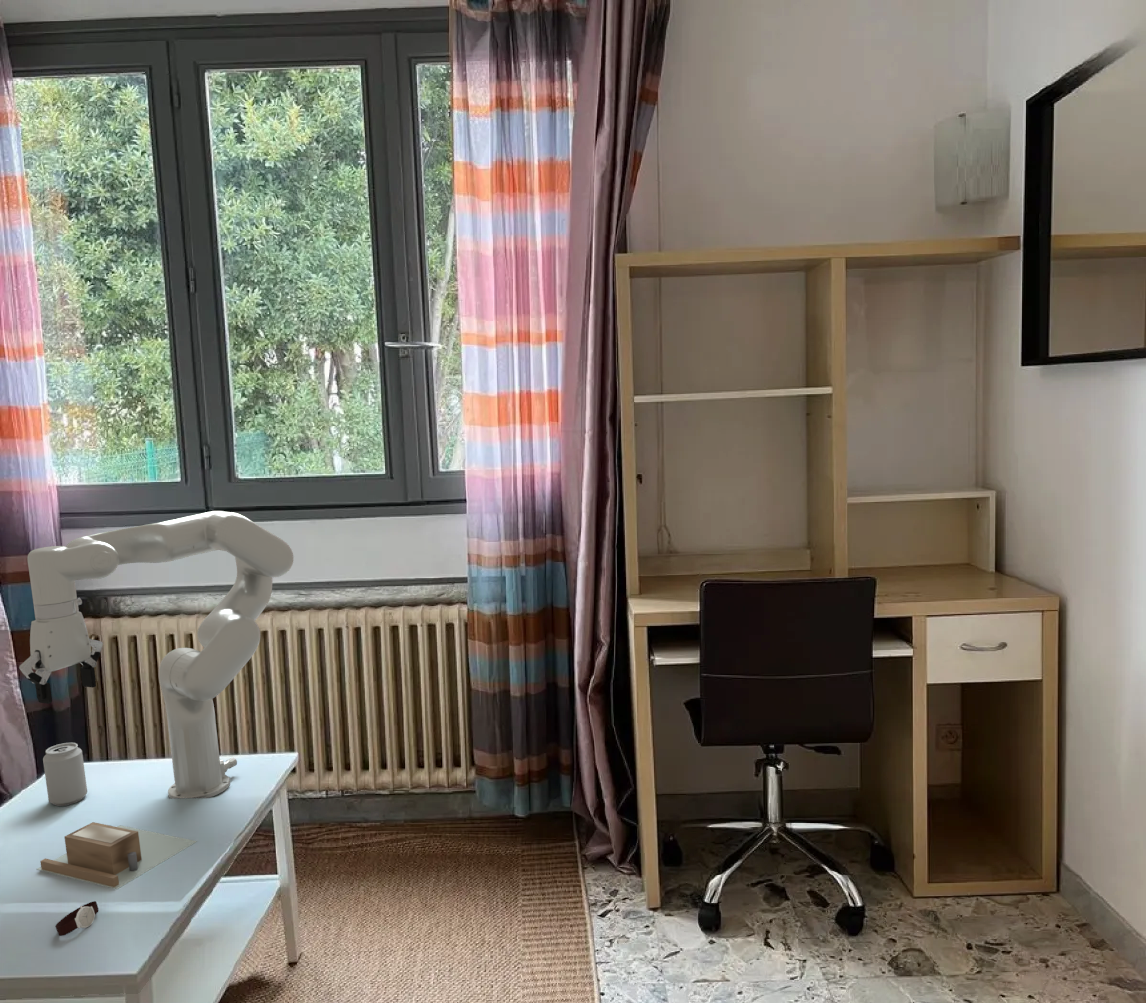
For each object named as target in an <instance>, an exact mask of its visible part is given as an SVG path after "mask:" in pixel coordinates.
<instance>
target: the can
mask: <svg viewBox="0 0 1146 1003" xmlns="http://www.w3.org/2000/svg"><path fill="white" fill-rule="evenodd" d="M78 746H79V745H78V743H76V742H64V743H59V744H56V745H53V746H50V747H48V748H47V749H45V755H44V756H43V758H42V761H43V770H44V776H45V777H44V778H45V784H46V791H47V799H48V802H49V803H50V804H53V805H54V806H58V807H62V806H69V805H73V804H75V803H79V802H80V801H82V800H83V799H84V798H85V796H87V794H88V786H87V780H86V778H87V777H86V771H85V763H84V755H83V750H82V749H81V748H80V747H78Z"/></svg>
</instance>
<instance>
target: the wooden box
mask: <svg viewBox="0 0 1146 1003" xmlns="http://www.w3.org/2000/svg"><path fill="white" fill-rule="evenodd" d="M64 842H65V843H64V844H65V851H66V853H67V859H68V864H71V865H75V866H79V867H84V868H88V869H92V870H96V871H100V872H104V873H109V874H113V875H116V874H118V873H120V872H121V871H123V870H125V869H126V868H128V867H129V862H128V854H129V853H131V852H136V856H137V862H139V861H140V860H142V858H141V850H140V842H139V834H138V831H134V830H129V829H124V828H119V827H117V826H113V825H109V824H104V823H100V822H96V821H95V822H94V821H93V822H90V823H89V824H87V825H85V826H83V827H80V828H79V829H77V830H74V831H73V832H71V833H69V834H66V835H65V836H64Z"/></svg>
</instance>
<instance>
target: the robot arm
mask: <svg viewBox="0 0 1146 1003" xmlns="http://www.w3.org/2000/svg"><path fill="white" fill-rule="evenodd" d="M215 551H222V552H227V553H228V554H230V555H232V556H233V557H234V560H235V563H236V579H235V581H234V584H233V586H232V587H231V588H230V590H229V591H228V592H227V594H226V595H225V596H224V597H223V598H222V599H221V601H220V602H219V603H218V604H217V605H216V606H215V607H214V608H213V609H212V611H211V612H210V613H209V614H208V615H207V616H206V617H205V618H204V619H203V620H202V622H201V623H200V625H199V627H198V629H197V640H198V642H199V644H200V645H201V646H202V647H203V649H201V650H198V649H194V648H189V647H178V648H175V649H173V650H170V651H169V652H167V653H166V654H165V656H163V658H162V659H161V661H160V663H159V668H158V682H159V686H160V687H159V688H160V690H161V693H162V697H163V702H164V705H165V712H166V719H167V727H168V728H167V729H168V737H169V746H170V753H171V761H172V763H171V764H172V770H173V778H174V783H173V784H172V785H171V786H170V787H169V788H168V790H167V794H168V798H169V799H171V800H172V799H173V800H175V799H177V800H178V799H180V800H181V799H185V800H186V799H209V798H212V797H214V796H218V795H219V794H222V793H223V792H224V791H226V790H227V789H228V788H229V787H230V785H231V779H230V776H228V775H226V773H227V771H228V770H230V769H232V768H234V767H236V766H237V764H238V761H237V759H236V757H231V758H229V759H227V760H226V761H224V760H223V759H220V750H219V741H218V732H217V724H216V723H217V722H216V713H215V707H214V706H215V705H214V701H213V699H214V698H216V696H217V697H218V696H219V694H221V693H222V692H223V691H224V690H225V689H226V688H228V685H230V683H231V682H232V681H233V680H234V679H235V677H236V676H237V675H238V674H239V673H240V672H241V671H242V670H243V668H244V667H245V665H247V663H248V662H249V660H251V659H252V657H253V656H254V654H255V652H256V651H257V649H258V647H259V645H260V642H261V630H260V627H259V625H258V624H257V622H256V621H257V619H258V618H259V617H260V615H261V614H262V613H263V611H264V610H265V608H266V607H267V605H268V603H269V602H270V600H271V596H272V591H273V578H279V577H282V576H284V575H286V574H287V573H288V572H289V571H290V569H291V568H292V566H293V563H294V552H293V549H292V548H291V546H290V545H289V544H288V543H287V542H286V541H285V540H283V539H282V538H280V537H278V536H277V535H275V534H274V533H272V532H270V531H268V530H267V529H266V528H264V527H262V526H260V525H259V524H257V523H256V522H254V521H252V520H251V519H249V518H248V517H247V516H244V515H242V514H240V513H237V512H232V511H231V512H230V511H224V510H212V511H207V512H202V513H197V514H193V515H187V516H184V517H179V518H176V519H170V520H165V521H160V522H155V523H149V524H148V523H147V524H144V525H142V524H141V525H138V526H131V527H126V528H120V529H114V530H109V531H103V532H99V533H95V534H90V535H85V536H82V537H77V538H75V539H73V540H71V541H70V542H69V543H68V544H67V545H64V546H63V545H54V546H51V545H50V546H44V547H38V548H35V549H33V550H31V551H30V552H29V553H28V554H27V566H28V572H29V574H28V575H29V580H30V589H31V595H32V596H31V597H32V603H33V609H34V618H35V620H32V621H31V623H30V624H31V625H30V631H29V634H30V636H29V647H30V650H29V652H30V656H29V657H28V658H26V659H25V660H24V662H22V663H21V664H20V665H19V667H18V668H19V670H20V672H21V673H22V674H23V675H24V677H25V679H27V680H28V681H30V682H31V683H32V684H34V686H35V692H36V699H37V702H38V703H40V704H41V703H42V704H48V705H49V704H52V702H53V696H52V688H51V684H50V682H47V681H48V680H49V678H50V676H51V675H52V672H56V671H58V670H62V669H65V668H68V667H71V666H74V665H77V664H81V666H80V675H81V676H80V678H81V683H82V684H81V685H82V687H85V688H96V687H97V683H96V673H95V672H96V671H95V667H97V664H98V663H97V662H98V660H99V659H100V657H101V651H102V649H103V645H104V644H103V642H102V641H100V640H96V639H92V638H90V637H89V631H88V627H87V624H86V621H85V619H84V616H83V613H82V612H81V611H79V609H80V608H79V606H80V605H82V604H83V600H82V599H81V598H80V597H77V596H78V595H77V588H76V581H84V580H85V581H87V580H100V579H104V578H107V577H108V576H111V574H113V573H114V572H115V571H116V570H117V568H118V566H122V565H127V564H136V563H139V564H140V563H145V564H148V563H149V564H152V563H153V564H159V563H168V562H174V561H178V560H182V559H185V558H189V557H194V556H197V555H202V554H206V553H209V552H215ZM33 670H35V672H34V671H33Z"/></svg>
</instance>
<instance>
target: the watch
mask: <svg viewBox="0 0 1146 1003" xmlns="http://www.w3.org/2000/svg"><path fill="white" fill-rule="evenodd" d="M99 912H100V910H99V907H98V902H97V901H95V900H94V901H91V902H88V903H85V904H83V905H80V907H78V908H76V909H74V910H72V911H71V912H70V913H68V914H66V915H65V916H64V917H63V918H61V919H60V920H59V921H58V922H57V923H56V924H55V930H56V932H57V934H58V936H59V937H63V936H66V935H68V934H70V933H72V932H74V931H76V930H78V929H79V928H82V929H86V928H88V927H90V926H92V925H93V922H94V920H95V916H96V915H97V914H98V913H99Z"/></svg>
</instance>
